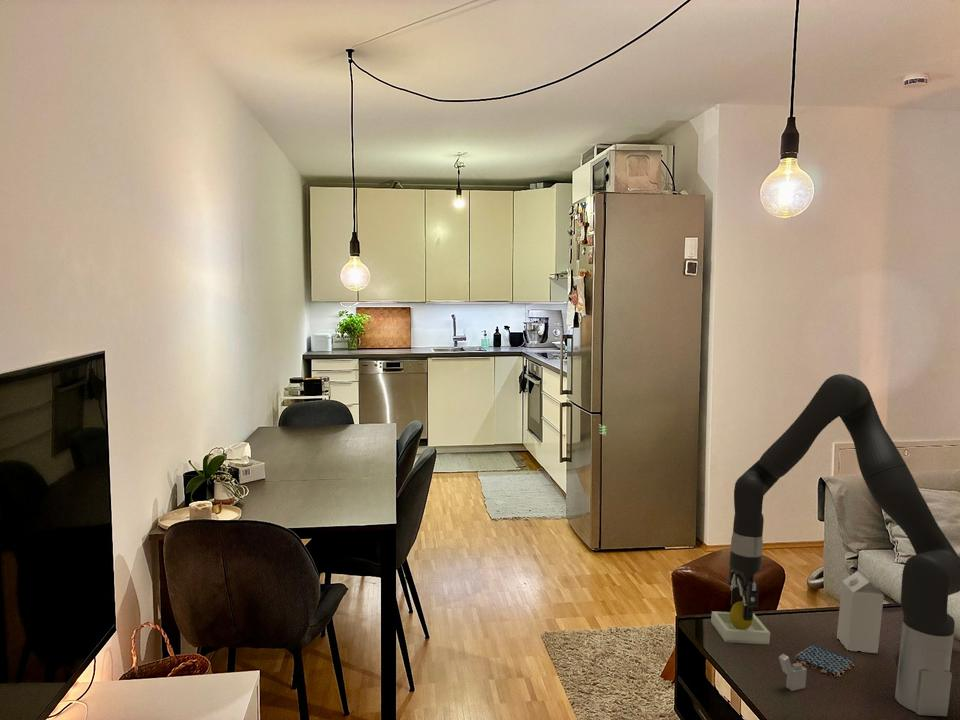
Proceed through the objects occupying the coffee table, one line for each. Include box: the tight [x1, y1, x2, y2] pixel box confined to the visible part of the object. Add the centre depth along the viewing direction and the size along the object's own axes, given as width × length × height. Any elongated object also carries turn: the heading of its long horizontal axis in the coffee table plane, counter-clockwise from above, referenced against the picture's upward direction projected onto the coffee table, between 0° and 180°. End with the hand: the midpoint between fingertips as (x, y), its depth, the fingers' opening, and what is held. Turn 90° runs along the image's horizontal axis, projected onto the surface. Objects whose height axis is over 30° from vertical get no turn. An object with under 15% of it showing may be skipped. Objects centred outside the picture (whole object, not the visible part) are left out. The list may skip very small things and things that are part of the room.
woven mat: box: [794, 644, 855, 678], centre depth 172 cm, size 10×11×2 cm
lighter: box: [778, 653, 808, 692], centre depth 159 cm, size 7×2×8 cm, turn 113°
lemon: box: [729, 600, 753, 630], centre depth 185 cm, size 6×6×8 cm
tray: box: [710, 610, 771, 645], centre depth 185 cm, size 11×11×3 cm
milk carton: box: [836, 566, 885, 654], centre depth 181 cm, size 7×7×19 cm
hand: (741, 612), depth 185 cm, fingers open, 8 cm apart
